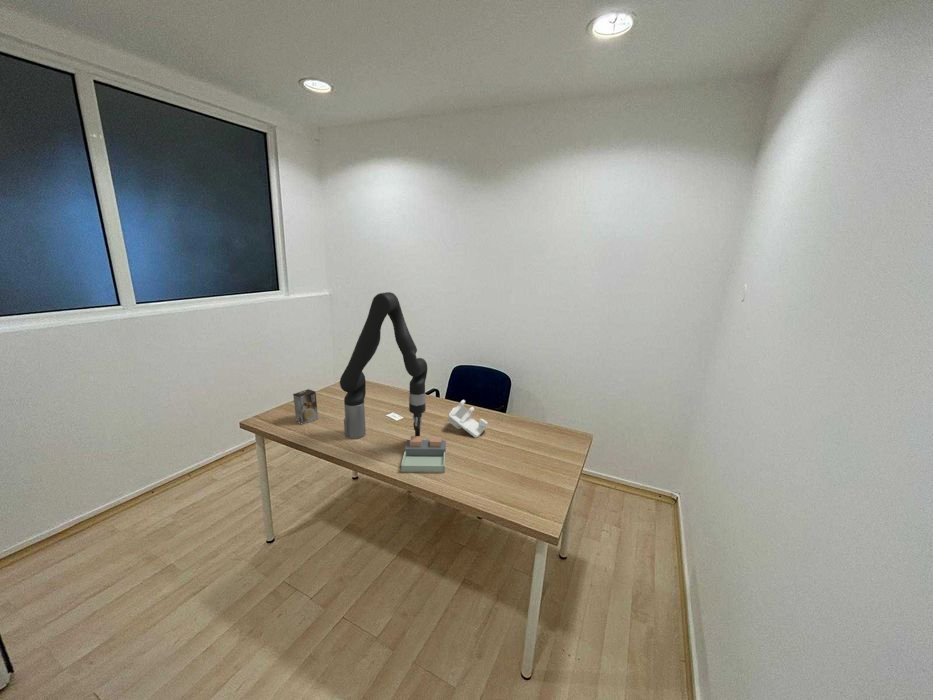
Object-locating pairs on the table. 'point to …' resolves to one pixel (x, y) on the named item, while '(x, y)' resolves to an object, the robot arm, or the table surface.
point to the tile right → (435, 441)
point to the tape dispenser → (466, 420)
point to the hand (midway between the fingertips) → (417, 435)
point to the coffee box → (305, 406)
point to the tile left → (415, 441)
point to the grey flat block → (426, 449)
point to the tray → (423, 464)
